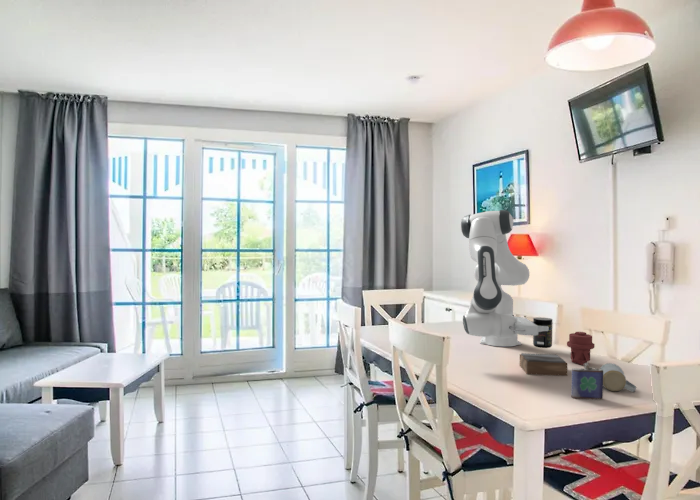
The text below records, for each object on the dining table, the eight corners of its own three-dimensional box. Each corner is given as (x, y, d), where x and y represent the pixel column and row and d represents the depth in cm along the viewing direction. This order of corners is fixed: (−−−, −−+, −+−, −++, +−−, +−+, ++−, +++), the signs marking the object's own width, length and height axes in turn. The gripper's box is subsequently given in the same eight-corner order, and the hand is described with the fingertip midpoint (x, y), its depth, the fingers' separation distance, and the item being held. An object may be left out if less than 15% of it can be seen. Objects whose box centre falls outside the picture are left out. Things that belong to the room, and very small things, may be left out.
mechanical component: (590, 361, 204) (597, 367, 195) (564, 359, 206) (569, 365, 197) (590, 330, 204) (597, 335, 194) (564, 329, 206) (570, 334, 196)
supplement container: (553, 345, 190) (553, 318, 190) (551, 349, 184) (551, 320, 184) (534, 344, 193) (534, 316, 193) (531, 347, 187) (532, 319, 187)
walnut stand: (519, 365, 196) (519, 352, 196) (557, 366, 194) (557, 354, 194) (527, 374, 183) (527, 360, 183) (567, 375, 181) (567, 361, 181)
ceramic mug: (601, 391, 162) (602, 367, 162) (598, 384, 170) (598, 361, 170) (638, 395, 159) (639, 371, 159) (633, 388, 167) (634, 365, 167)
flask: (572, 398, 154) (573, 364, 154) (569, 395, 157) (570, 361, 157) (604, 399, 154) (604, 364, 153) (600, 397, 156) (600, 362, 156)
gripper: (512, 321, 180) (553, 322, 178) (502, 313, 200) (538, 314, 198) (512, 339, 180) (552, 340, 178) (502, 329, 200) (538, 330, 198)
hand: (545, 326), depth 188 cm, fingers closed on supplement container, 7 cm apart
